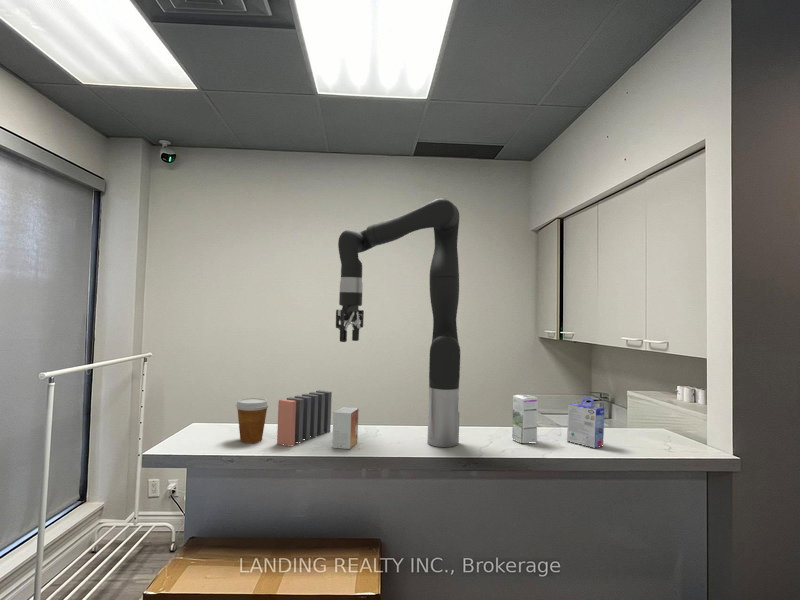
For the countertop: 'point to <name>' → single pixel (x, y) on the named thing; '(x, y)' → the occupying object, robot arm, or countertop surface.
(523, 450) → the countertop surface
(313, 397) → the domino
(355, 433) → the small box
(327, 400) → the domino
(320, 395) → the domino
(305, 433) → the domino
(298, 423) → the domino
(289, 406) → the domino
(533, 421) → the syrup box
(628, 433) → the countertop surface
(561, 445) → the countertop surface
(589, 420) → the ink cartridge box
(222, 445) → the countertop surface
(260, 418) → the disposable coffee cup
